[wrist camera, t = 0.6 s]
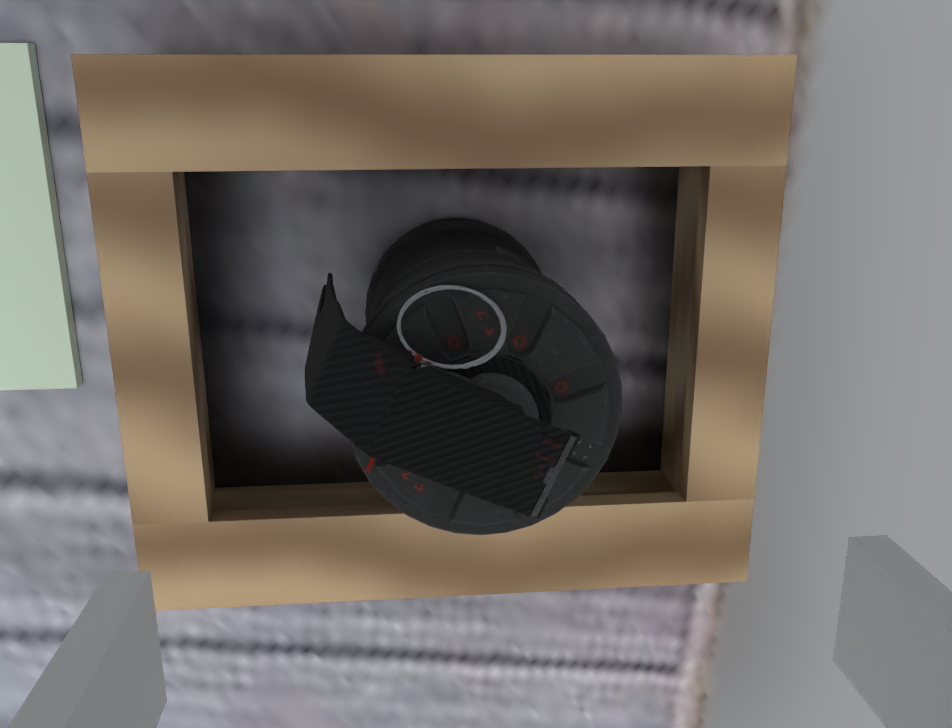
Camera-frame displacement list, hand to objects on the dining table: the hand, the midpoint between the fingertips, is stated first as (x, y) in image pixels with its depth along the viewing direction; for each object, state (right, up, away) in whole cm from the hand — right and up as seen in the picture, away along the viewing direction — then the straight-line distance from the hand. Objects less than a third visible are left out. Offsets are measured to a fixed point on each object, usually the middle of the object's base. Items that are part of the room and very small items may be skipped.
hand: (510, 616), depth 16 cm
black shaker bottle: (-3, +8, +27) cm, 29 cm away
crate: (-3, +8, +27) cm, 29 cm away
